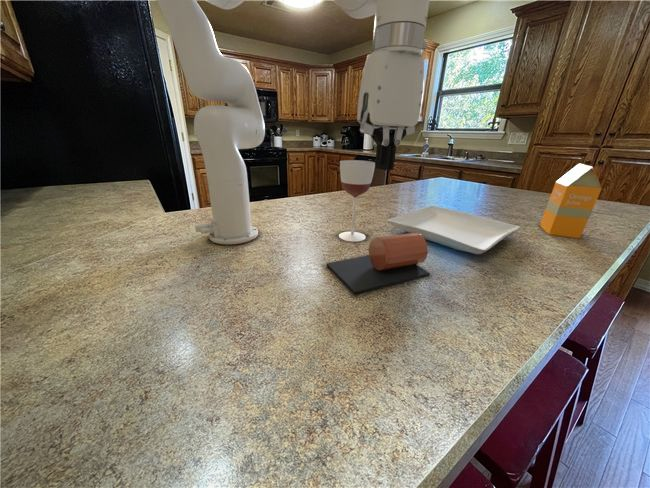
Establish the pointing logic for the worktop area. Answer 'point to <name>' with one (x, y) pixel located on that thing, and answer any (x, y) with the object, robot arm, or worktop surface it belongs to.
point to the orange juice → (571, 202)
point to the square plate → (455, 228)
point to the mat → (372, 274)
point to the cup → (397, 251)
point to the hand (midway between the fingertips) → (384, 168)
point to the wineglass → (355, 188)
